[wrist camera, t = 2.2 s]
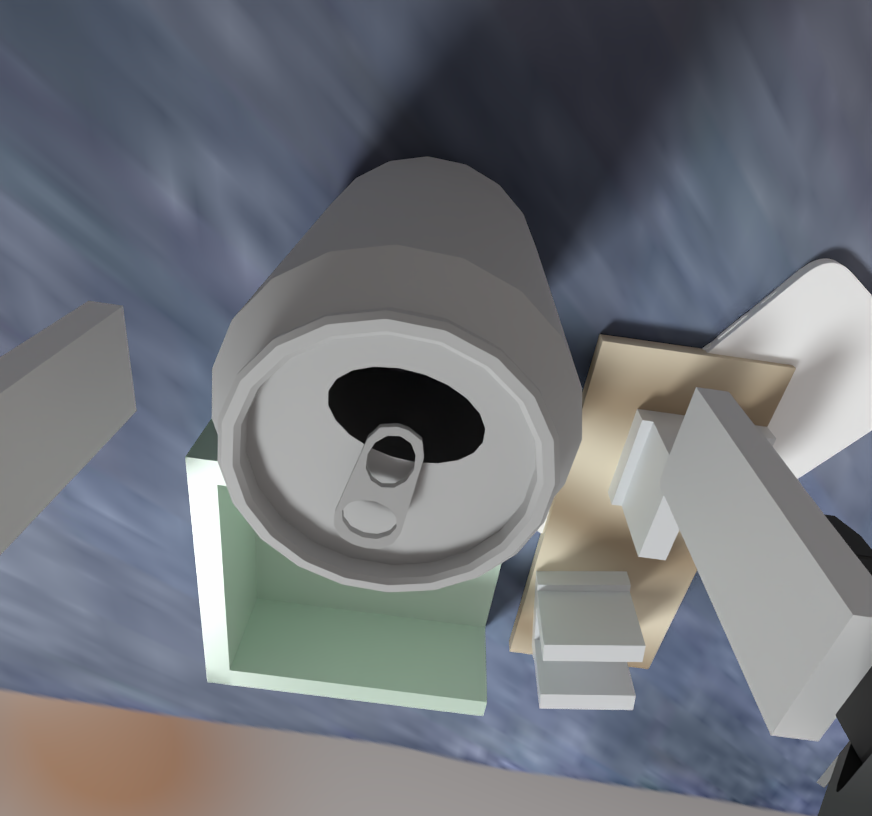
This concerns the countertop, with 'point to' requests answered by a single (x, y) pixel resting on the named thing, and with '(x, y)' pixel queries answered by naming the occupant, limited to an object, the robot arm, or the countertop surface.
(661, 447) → the clip
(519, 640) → the board
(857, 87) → the countertop surface
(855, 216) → the countertop surface
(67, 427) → the robot arm
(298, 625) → the green open box
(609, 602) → the clip
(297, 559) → the can
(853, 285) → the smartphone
